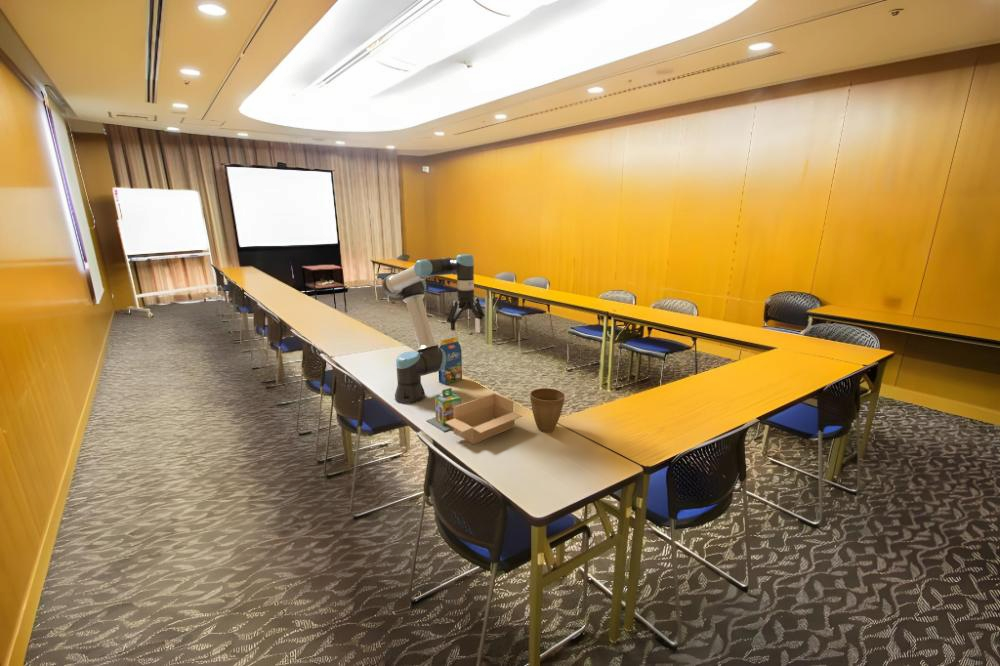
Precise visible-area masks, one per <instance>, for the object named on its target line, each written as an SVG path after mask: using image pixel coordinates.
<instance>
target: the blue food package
mask: <svg viewBox="0 0 1000 666" xmlns="http://www.w3.org/2000/svg"><path fill="white" fill-rule="evenodd" d="M439 348H440V349H443V351H444V352H445V354H446V364H445V367H444V368H443V369H442V370H440V371H438V382H439V383H440V384H442V385H444V384H445V385H450V384H453V383H456V382H459V381H462V380H463V365H462V364H463V361H462V360H463V359H462V356H463V355H462V347H461V344H460V343H459V337H458V336H457V338H455V337H451V338H446V339H442V340H440V345H439Z"/></svg>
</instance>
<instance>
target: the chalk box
mask: <svg viewBox="0 0 1000 666" xmlns="http://www.w3.org/2000/svg"><path fill="white" fill-rule="evenodd" d="M434 402H435V403H434V404H435V405H434V407H435V408H434V409H435V417H436V420H437V421H438V422H440V423H441V424H442V425H443V426H447V425H448V424H446V423H445V422H446V421H449V420H452V419H454V409H453V407H455V406H458V405H461V404H462V397H460V396H459V395H457V394H456V393H454V392H453V390H452V388H451V387H449V388H444V389H442V391H441V393H440V394H436V395H435V396H434Z"/></svg>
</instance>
